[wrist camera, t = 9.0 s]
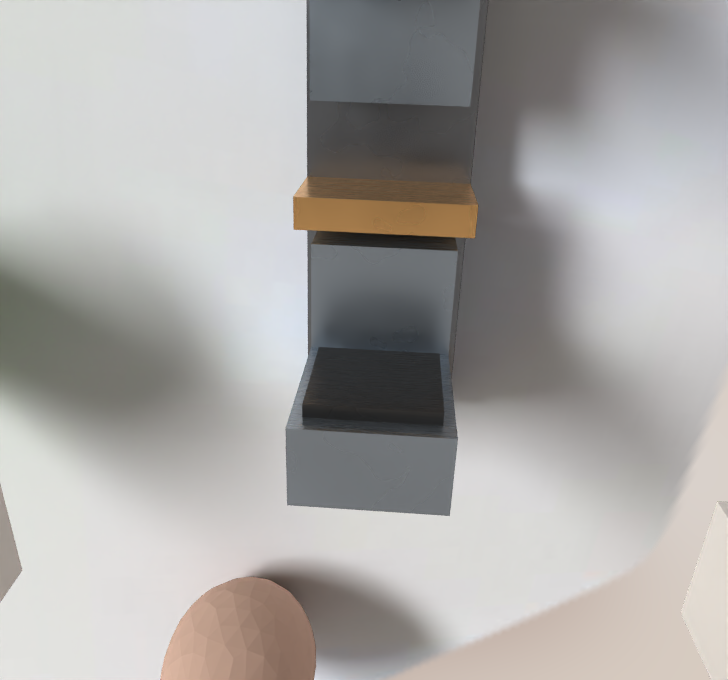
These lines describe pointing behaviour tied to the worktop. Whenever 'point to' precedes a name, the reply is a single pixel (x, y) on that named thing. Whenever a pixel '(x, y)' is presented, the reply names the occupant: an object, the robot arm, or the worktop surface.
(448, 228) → the rail
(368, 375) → the l-shaped step block
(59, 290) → the worktop surface
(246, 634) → the egg
